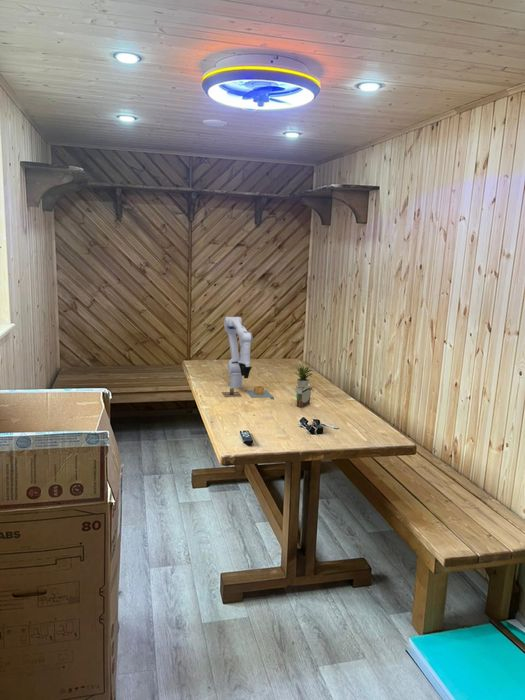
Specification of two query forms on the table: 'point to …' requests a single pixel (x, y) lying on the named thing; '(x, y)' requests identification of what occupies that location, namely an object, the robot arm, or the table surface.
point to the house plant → (303, 375)
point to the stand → (231, 393)
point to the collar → (258, 390)
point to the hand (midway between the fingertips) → (244, 376)
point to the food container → (303, 396)
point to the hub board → (265, 395)
